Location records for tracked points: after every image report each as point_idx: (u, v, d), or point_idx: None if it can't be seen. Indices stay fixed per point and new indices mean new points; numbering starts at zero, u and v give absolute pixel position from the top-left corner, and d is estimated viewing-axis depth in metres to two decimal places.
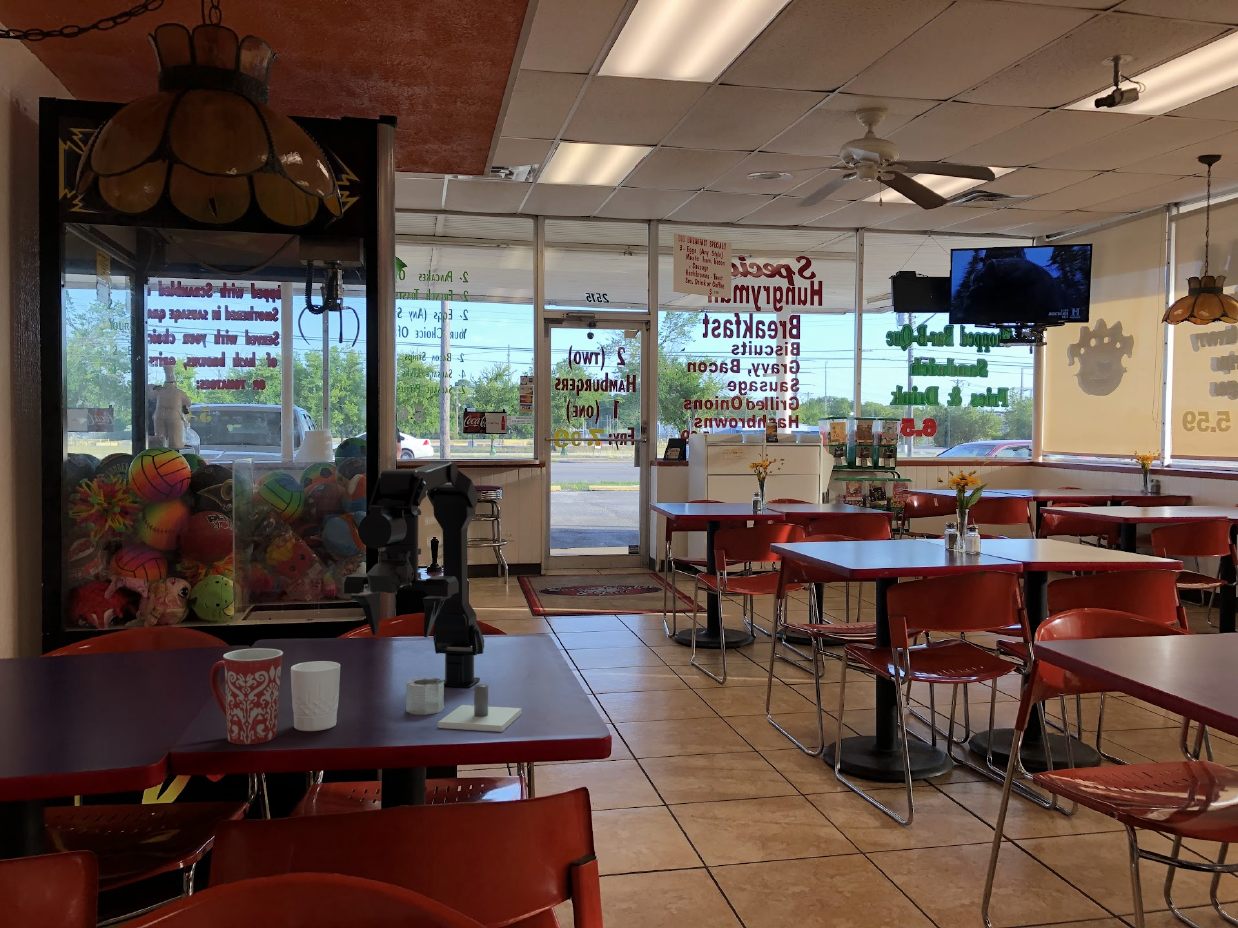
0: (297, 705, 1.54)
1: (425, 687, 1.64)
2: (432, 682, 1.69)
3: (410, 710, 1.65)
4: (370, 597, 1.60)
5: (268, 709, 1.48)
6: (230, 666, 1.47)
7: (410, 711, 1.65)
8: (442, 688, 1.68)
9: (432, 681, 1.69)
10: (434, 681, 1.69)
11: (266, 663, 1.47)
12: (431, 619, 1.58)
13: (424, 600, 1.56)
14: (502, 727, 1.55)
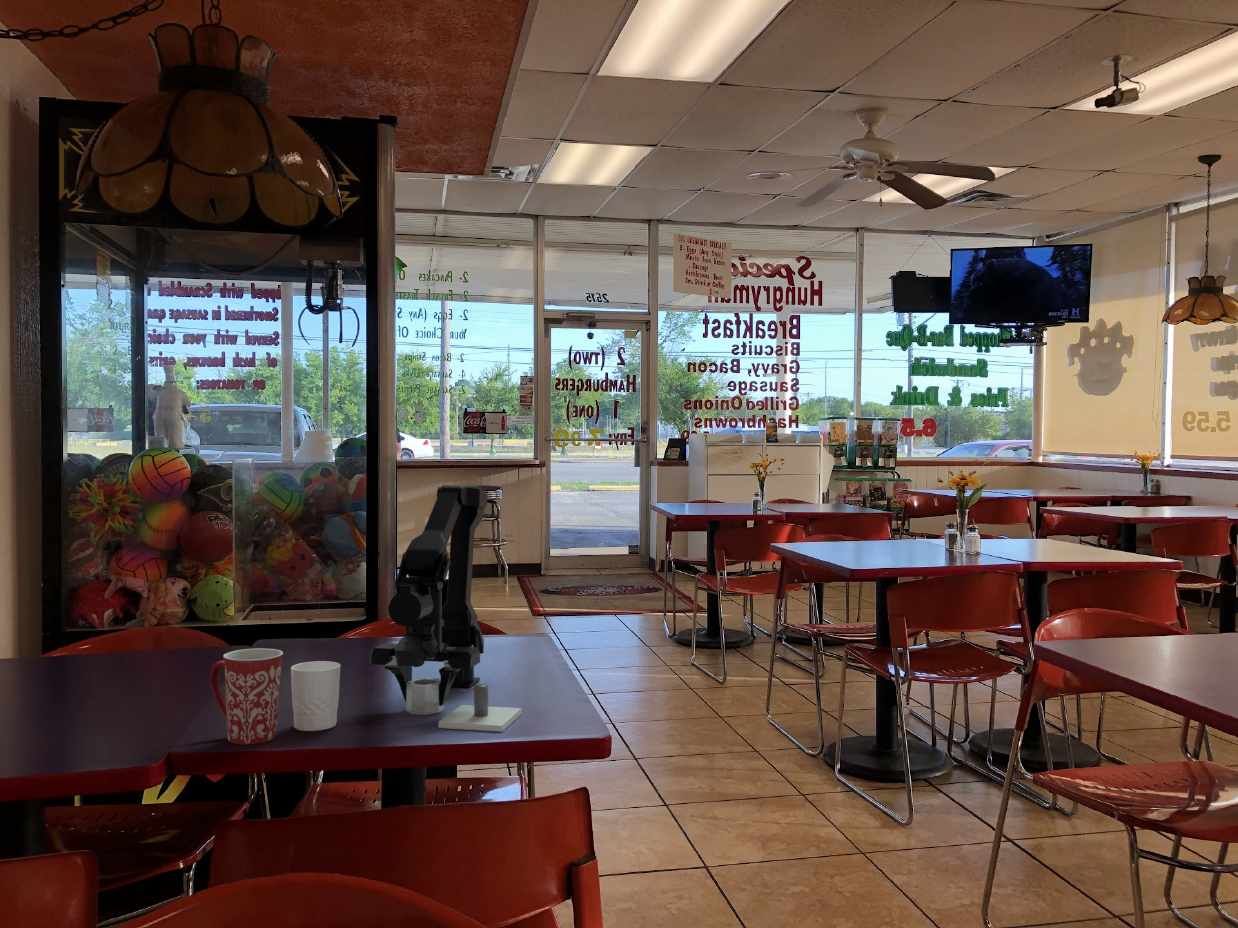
0: (297, 705, 1.54)
1: (425, 687, 1.64)
2: (432, 682, 1.69)
3: (410, 710, 1.65)
4: (403, 668, 1.67)
5: (268, 709, 1.48)
6: (230, 666, 1.47)
7: (410, 711, 1.65)
8: None
9: (432, 681, 1.69)
10: (434, 681, 1.69)
11: (266, 663, 1.47)
12: (446, 688, 1.66)
13: (440, 671, 1.64)
14: (502, 727, 1.55)
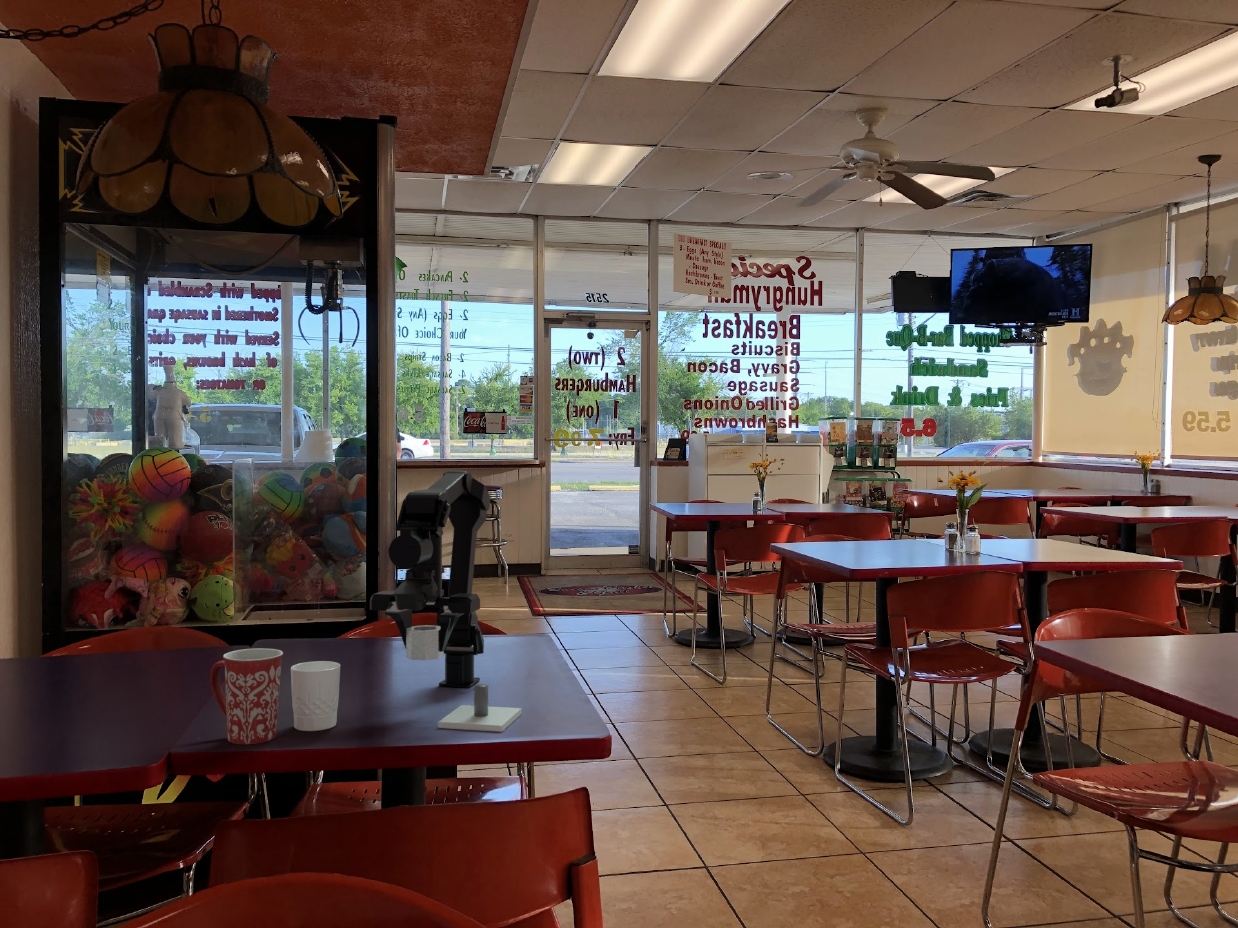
0: (297, 705, 1.54)
1: (425, 632, 1.64)
2: (432, 629, 1.69)
3: (410, 656, 1.65)
4: (403, 614, 1.67)
5: (268, 709, 1.48)
6: (230, 666, 1.47)
7: (410, 657, 1.65)
8: None
9: (432, 628, 1.69)
10: (434, 628, 1.69)
11: (266, 663, 1.47)
12: (446, 634, 1.66)
13: (440, 616, 1.64)
14: (502, 727, 1.55)
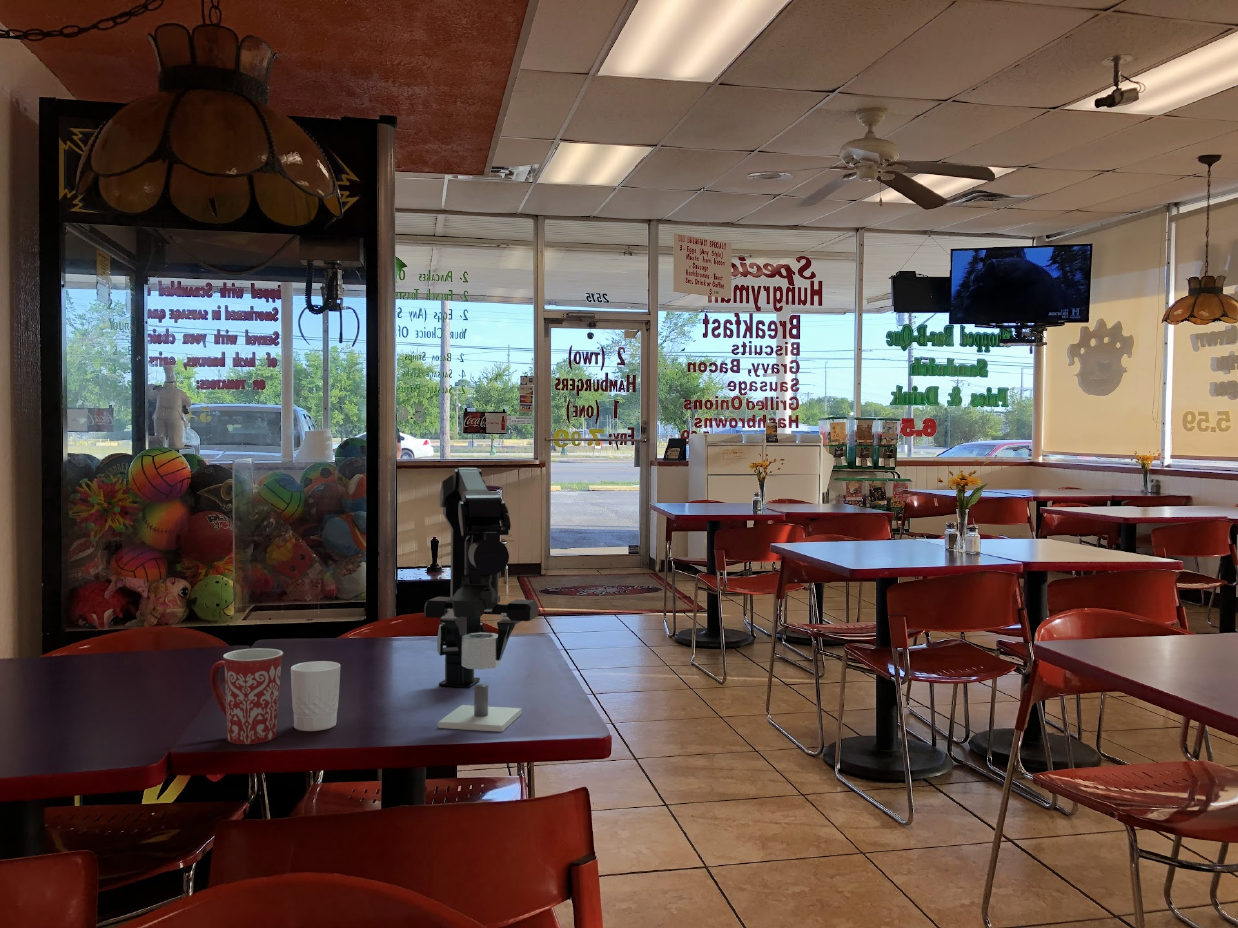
0: (297, 705, 1.54)
1: (482, 640, 1.58)
2: (488, 636, 1.63)
3: (466, 665, 1.58)
4: (459, 621, 1.61)
5: (268, 709, 1.48)
6: (230, 666, 1.47)
7: (466, 666, 1.58)
8: None
9: (488, 636, 1.63)
10: (490, 635, 1.62)
11: (266, 663, 1.47)
12: (504, 642, 1.60)
13: (498, 624, 1.57)
14: (502, 727, 1.55)
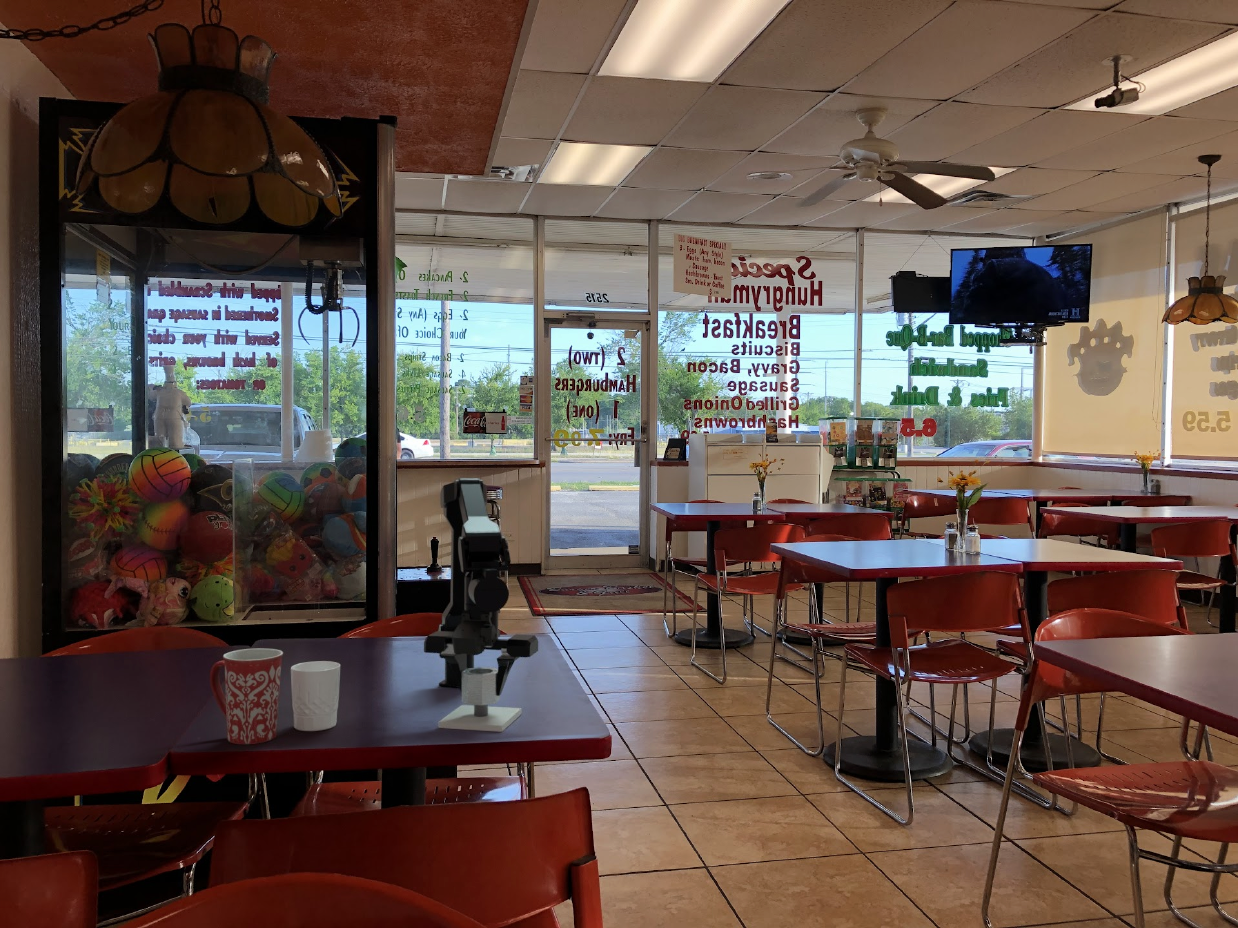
0: (297, 705, 1.54)
1: (482, 676, 1.58)
2: (488, 671, 1.63)
3: (466, 700, 1.59)
4: (459, 656, 1.61)
5: (268, 709, 1.48)
6: (230, 666, 1.47)
7: (466, 701, 1.59)
8: None
9: (488, 670, 1.63)
10: (490, 670, 1.62)
11: (266, 663, 1.47)
12: (504, 678, 1.60)
13: (498, 660, 1.57)
14: (502, 727, 1.55)
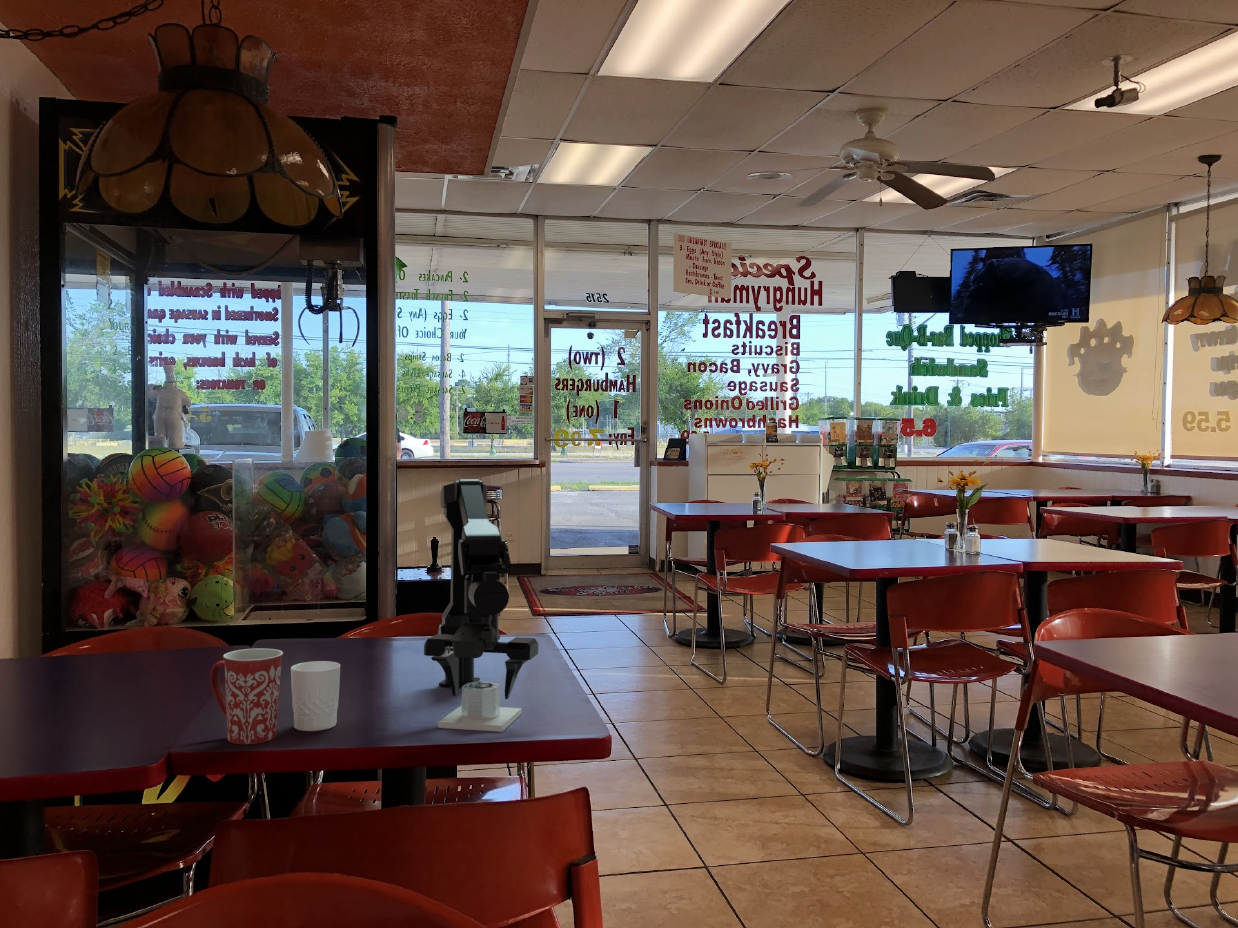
0: (297, 705, 1.54)
1: (482, 691, 1.58)
2: (488, 685, 1.63)
3: (466, 715, 1.59)
4: (451, 659, 1.61)
5: (268, 709, 1.48)
6: (230, 666, 1.47)
7: (466, 716, 1.59)
8: (499, 692, 1.61)
9: (488, 685, 1.63)
10: (490, 685, 1.62)
11: (266, 663, 1.47)
12: (512, 681, 1.59)
13: (506, 663, 1.57)
14: (502, 727, 1.55)
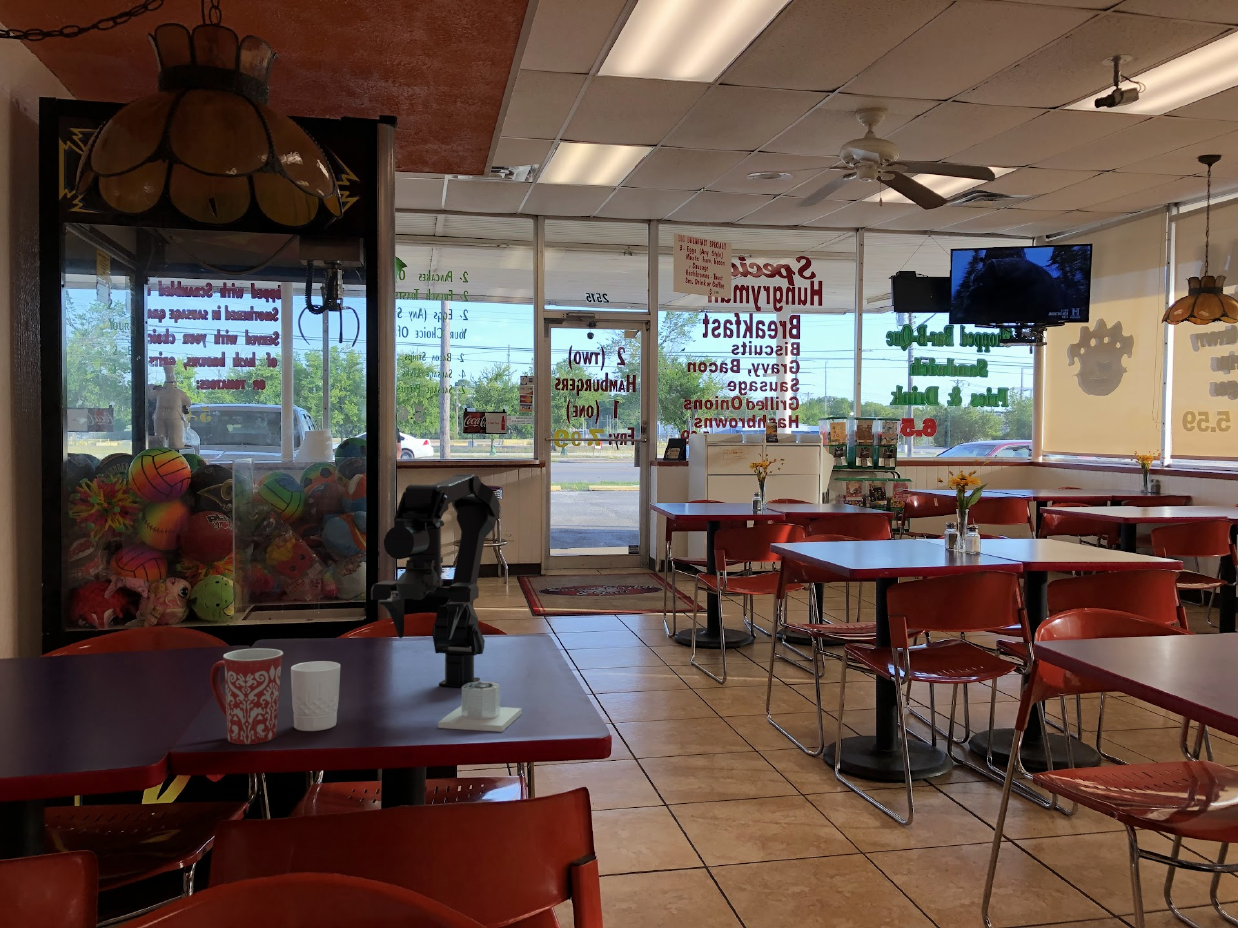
0: (297, 705, 1.54)
1: (482, 691, 1.58)
2: (488, 685, 1.63)
3: (466, 715, 1.59)
4: (396, 603, 1.72)
5: (268, 709, 1.48)
6: (230, 666, 1.47)
7: (466, 716, 1.59)
8: (499, 692, 1.61)
9: (488, 685, 1.63)
10: (490, 685, 1.62)
11: (266, 663, 1.47)
12: (454, 623, 1.71)
13: (448, 605, 1.69)
14: (502, 727, 1.55)
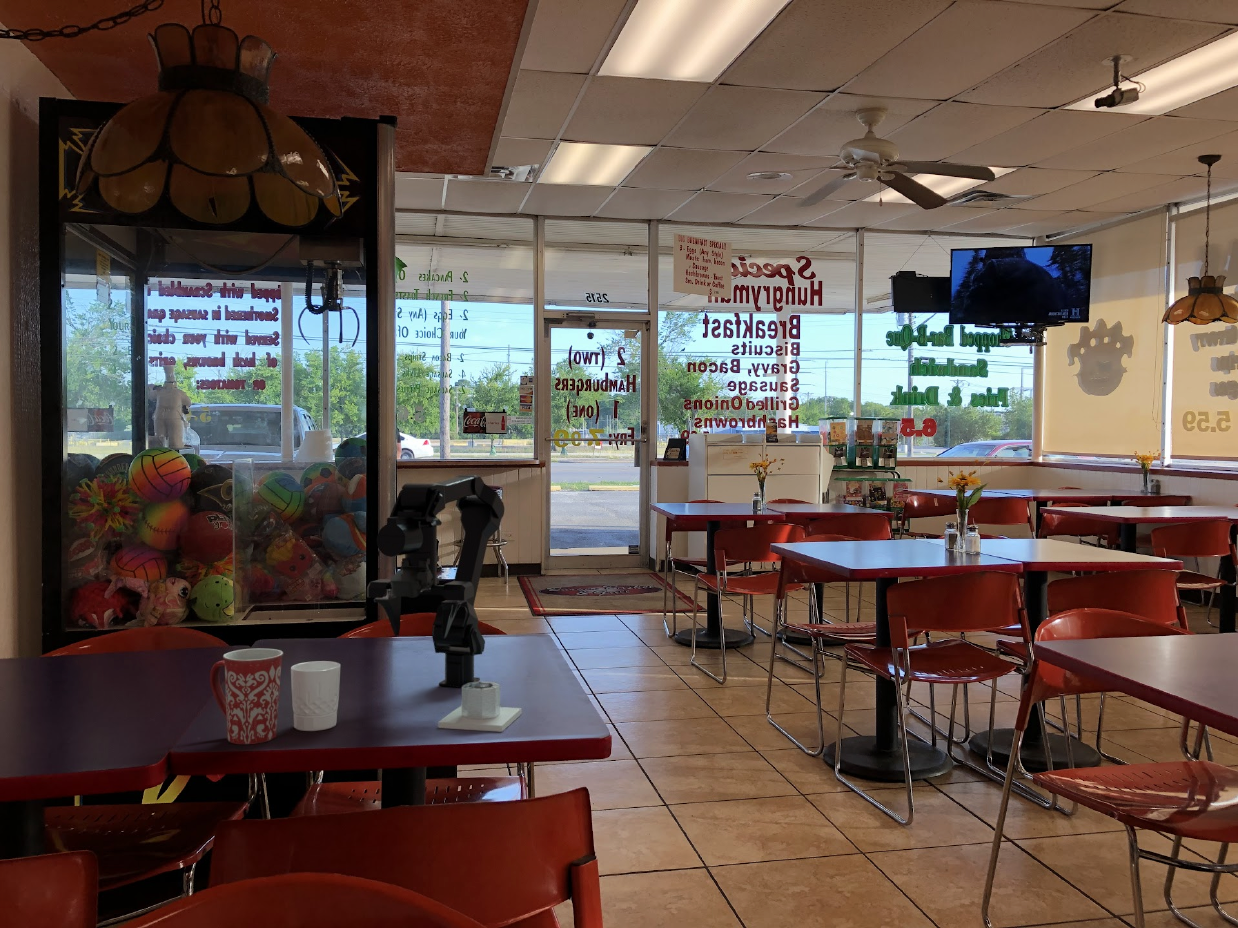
0: (297, 705, 1.54)
1: (482, 691, 1.58)
2: (488, 685, 1.63)
3: (466, 715, 1.59)
4: (392, 601, 1.73)
5: (268, 709, 1.48)
6: (230, 666, 1.47)
7: (466, 716, 1.59)
8: (499, 692, 1.61)
9: (488, 685, 1.63)
10: (490, 685, 1.62)
11: (266, 663, 1.47)
12: (449, 621, 1.71)
13: (442, 604, 1.69)
14: (502, 727, 1.55)
